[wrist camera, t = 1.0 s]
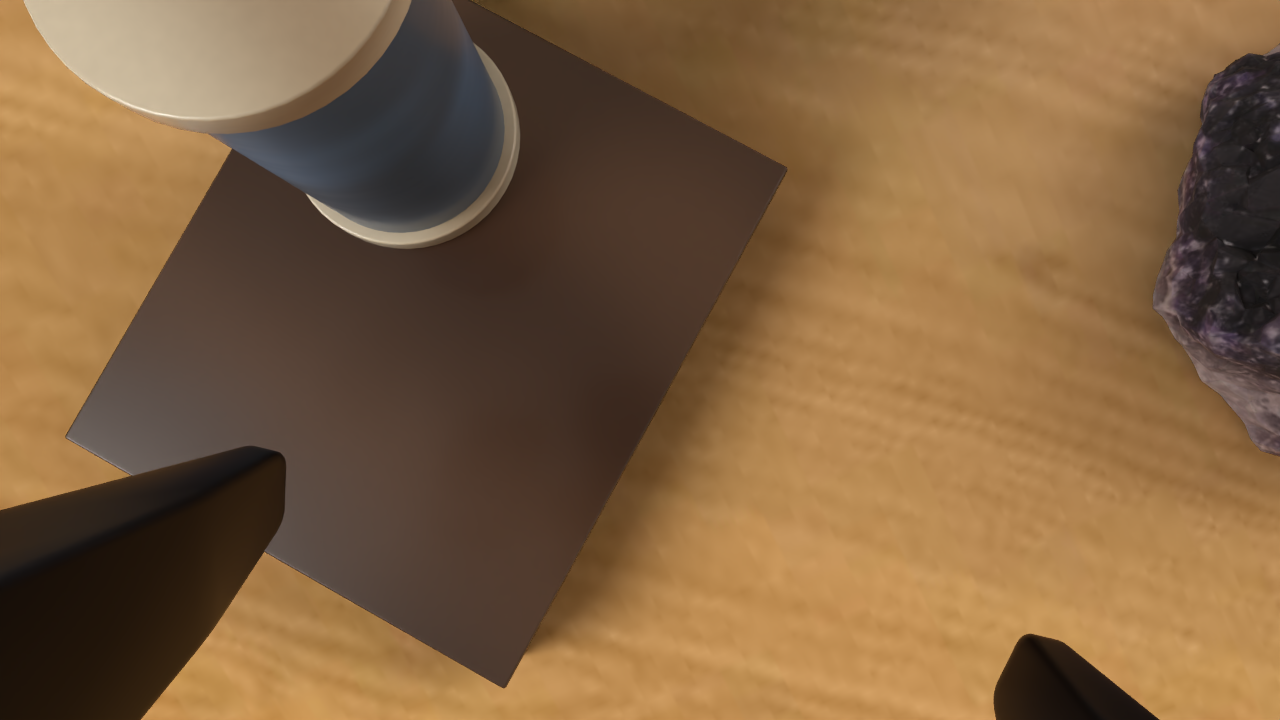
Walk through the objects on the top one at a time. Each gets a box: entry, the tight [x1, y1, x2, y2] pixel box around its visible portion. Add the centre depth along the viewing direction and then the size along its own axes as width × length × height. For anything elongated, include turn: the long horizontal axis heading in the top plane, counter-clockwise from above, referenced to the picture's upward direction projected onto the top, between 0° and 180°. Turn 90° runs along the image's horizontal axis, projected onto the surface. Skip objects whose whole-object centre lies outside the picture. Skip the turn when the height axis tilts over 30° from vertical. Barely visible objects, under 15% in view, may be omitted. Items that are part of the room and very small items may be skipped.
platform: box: [65, 0, 787, 688], centre depth 21 cm, size 15×13×2 cm
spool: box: [24, 0, 520, 249], centre depth 15 cm, size 6×6×9 cm
